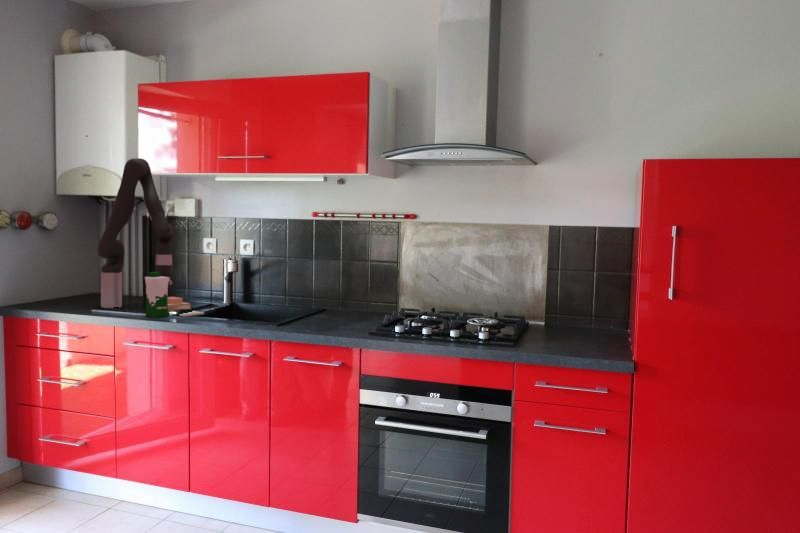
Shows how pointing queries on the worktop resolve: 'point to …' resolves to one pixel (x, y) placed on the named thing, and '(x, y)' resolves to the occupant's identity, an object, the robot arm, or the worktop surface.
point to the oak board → (178, 306)
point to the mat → (192, 313)
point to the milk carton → (156, 295)
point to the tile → (175, 300)
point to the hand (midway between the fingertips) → (163, 299)
